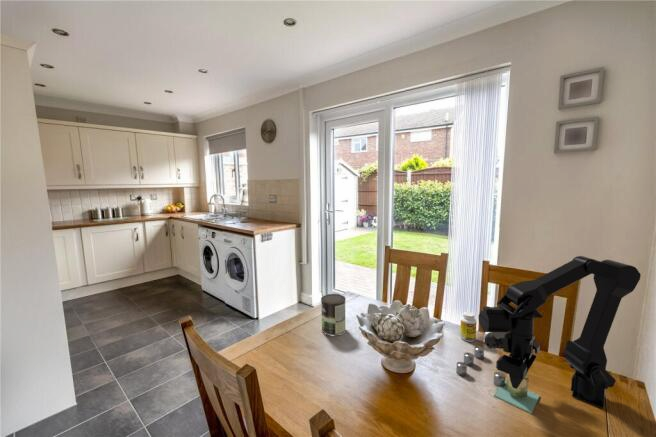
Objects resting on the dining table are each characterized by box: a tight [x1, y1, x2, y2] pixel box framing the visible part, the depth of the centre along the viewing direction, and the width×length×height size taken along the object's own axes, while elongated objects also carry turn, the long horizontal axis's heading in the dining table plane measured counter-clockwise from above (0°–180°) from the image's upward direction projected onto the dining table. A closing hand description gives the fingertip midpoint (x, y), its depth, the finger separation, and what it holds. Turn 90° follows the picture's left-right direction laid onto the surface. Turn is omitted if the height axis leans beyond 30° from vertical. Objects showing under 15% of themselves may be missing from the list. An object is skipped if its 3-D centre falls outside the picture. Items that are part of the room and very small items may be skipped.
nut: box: [506, 373, 529, 398], centre depth 81 cm, size 5×5×5 cm
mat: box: [493, 380, 541, 415], centre depth 81 cm, size 9×9×1 cm
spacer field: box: [455, 345, 507, 388], centre depth 92 cm, size 14×16×3 cm
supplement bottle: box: [459, 311, 478, 343], centre depth 111 cm, size 6×6×10 cm
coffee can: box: [320, 293, 346, 336], centre depth 120 cm, size 10×10×14 cm
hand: (517, 383), depth 81 cm, fingers closed on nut, 5 cm apart
